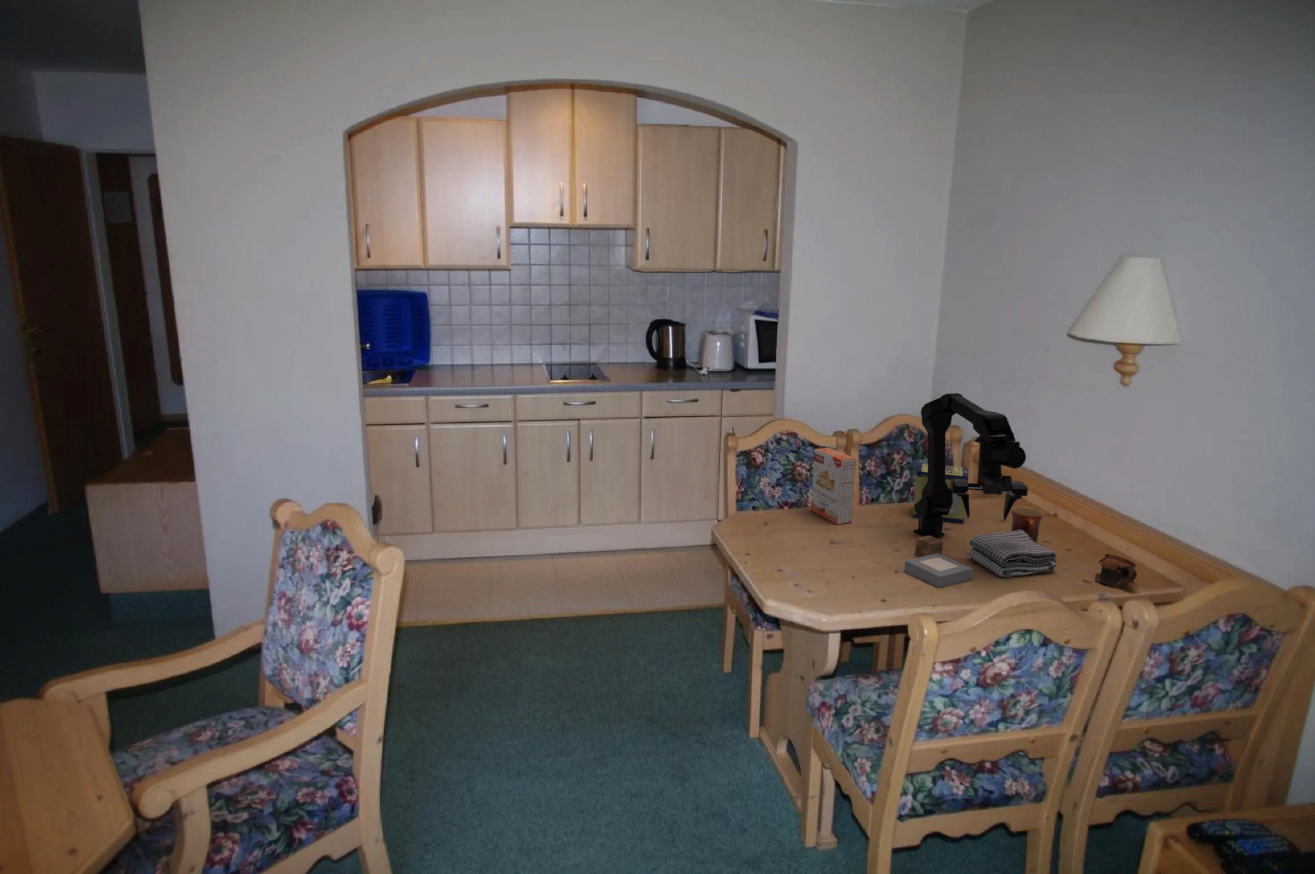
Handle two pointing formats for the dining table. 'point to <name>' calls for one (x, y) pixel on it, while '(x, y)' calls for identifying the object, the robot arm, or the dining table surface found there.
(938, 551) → the walnut cube
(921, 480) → the protein box
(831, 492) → the cracker box
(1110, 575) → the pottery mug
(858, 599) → the dining table surface
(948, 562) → the pedestal
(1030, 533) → the mug
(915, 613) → the dining table surface
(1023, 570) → the towel
